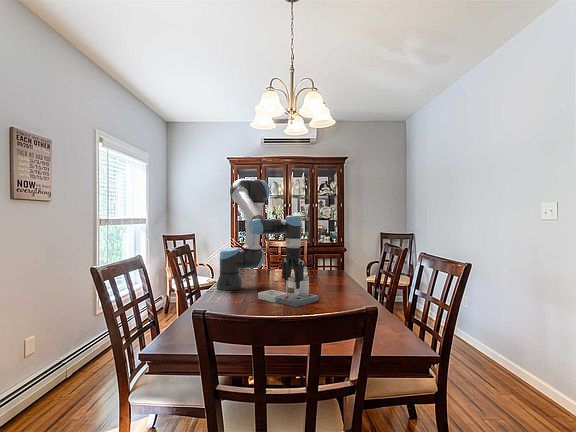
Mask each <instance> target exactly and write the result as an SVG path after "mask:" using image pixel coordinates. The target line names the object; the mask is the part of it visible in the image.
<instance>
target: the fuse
mask: <svg viewBox="0 0 576 432" xmlns="http://www.w3.org/2000/svg"><path fill="white" fill-rule="evenodd" d="M309 286H310V276H304V280H303V281H301V282H300V296H301V297H309V294H310V292H309V291H310V287H309Z"/></svg>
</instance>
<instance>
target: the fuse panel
mask: <svg viewBox="0 0 576 432" xmlns="http://www.w3.org/2000/svg"><path fill="white" fill-rule="evenodd" d="M319 300H320V297H319V295H317V294H312V293H309V297H301V296H300V292H299V295H297V300H289V299H288V295H287V296H286V295H285V296H282V297H278V298H277V302H276V303H277V304H281V303H282V305H285V304H286V305H285V306H289V307H294V308H297V307H301V306H304V305H307V304H312V303H315V302H319Z"/></svg>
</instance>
